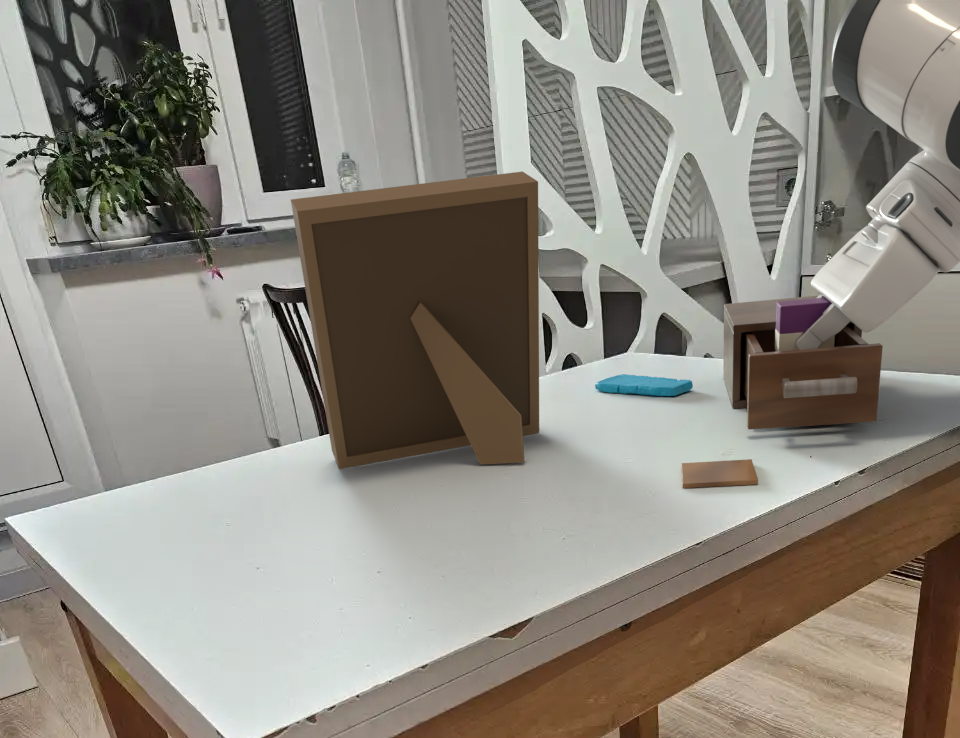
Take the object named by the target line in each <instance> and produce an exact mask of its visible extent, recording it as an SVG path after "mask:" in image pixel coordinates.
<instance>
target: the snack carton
mask: <svg viewBox="0 0 960 738" xmlns="http://www.w3.org/2000/svg"><path fill="white" fill-rule="evenodd" d="M831 304H832V303H831V302H830V301H829V300H827V299H826V298H825V297H824V298H813V299H802V300H791V301H780V302H777V304H776V329H775V352H777V351H790V350H800V349H799V348H798V347H797V346H796V344H795V341H796V339H797V338H798V337H799V336H800V335H801V334H802V333H803V332H804V331H805V330H806V329H807V328H808V329H809V328H810V327H811V326H812V325H813V324H814V323H815V322H816V321H817V320H818V319H819V318H820V317H821V316H822V315H823V312H824V311H825V310H826V309H827V308H828V307H829V306H830V305H831ZM834 338H835V335H834V336H833V337H831V338H830V339H828V340H827V341H825V342H824V343H822V344H821V345H820V346H819V347H818V348H827V347H834Z"/></svg>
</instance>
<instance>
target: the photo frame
mask: <svg viewBox="0 0 960 738" xmlns="http://www.w3.org/2000/svg"><path fill="white" fill-rule="evenodd" d="M290 204H291V210H292V216H293V223H294V229H295V235H296V241H297V246H298V253H299V259H300V266H301V271H302V277H303V283H304V291H305V296H306V301H307V308H308V314H309V321H310V326H311V332H312V339H313V344H314V350H315V357H316V363H317V368H318V375H319V380H320V386H321V394H322V398H323V406H324V411H325V417H326V424H327V430H328V435H329V441H330V442H329V443H330V446H331V452H332V455H333V458H334V460H335V463H336V466H337V469H338V470H344V469H348V468H353V467H354V468H355V467H360V466H366V465H370V464H375V463H382V462H387V461H393V460H399V459H404V458H409V457H414V456H420V455H425V454H432V453H438V452H442V451H443V452H444V451H448V450H454V449H459V448H465V447H471V449H472V450H473V452H474V454H475V456H476V459H477V460H478V463H479V465H497V464H515V463H516V464H517V463H525V450H524V437H525V436H531V435H532V436H533V435H537V434H540V293H539V292H540V291H539V285H540V284H539V282H540V281H539V280H540V279H539V278H540V275H539V272H540V270H539V269H540V268H539V267H540V266H539V265H540V264H539V262H540V261H539V256H540V255H539V181H538V180H537V179H536V178H534V177H532V176H531V175H529V174H527V173H526V172H524V171H515V172H506V173H498V174H491V175H482V176H474V177H465V178H457V179H450V180H449V179H448V180H440V181H433V182H425V183H424V182H423V183H414V184H408V185H407V184H406V185H399V186H391V187H383V188H374V189H367V190H366V189H365V190H359V191H348V192H342V193H334V194H332V193H331V194H324V195H317V196H316V195H315V196H309V197H307V196H306V197H300V198H292V199H290Z"/></svg>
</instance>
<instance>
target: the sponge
mask: <svg viewBox="0 0 960 738" xmlns="http://www.w3.org/2000/svg"><path fill="white" fill-rule="evenodd" d="M693 384H694V383H693V381H692V380H691V379H677V378H670V377H660V376H659V377H658V376H648V375H635V374H625V373H622V374H618V375H614V376H610V377H606V378H604V379H602V380H599V381H596V382H595V384H594V389H595V390H597V391H599V392H604V393H609V394H624V395H628V394H630V395H631V394H634V395H642V396H655V397H656V396H658V397H675V396H677V395H680V394H683V393H685V392H689V391H691V390H692V389H693V387H694V385H693Z"/></svg>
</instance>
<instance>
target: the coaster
mask: <svg viewBox="0 0 960 738" xmlns="http://www.w3.org/2000/svg"><path fill="white" fill-rule="evenodd" d="M680 465H681V466H680V467H681V483H682V484H681V485H682V489H693V488H712V487H731V486H732V487H733V486H752V485H758V484H759V479H758V476H757V472H756V469H755V466H754V462H753V459H751V458H750V459H749V458H748V459H730V460H718V461H717V460H714V461H713V460H712V461H698V462H696V461H695V462H682V463H681V464H680Z"/></svg>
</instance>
